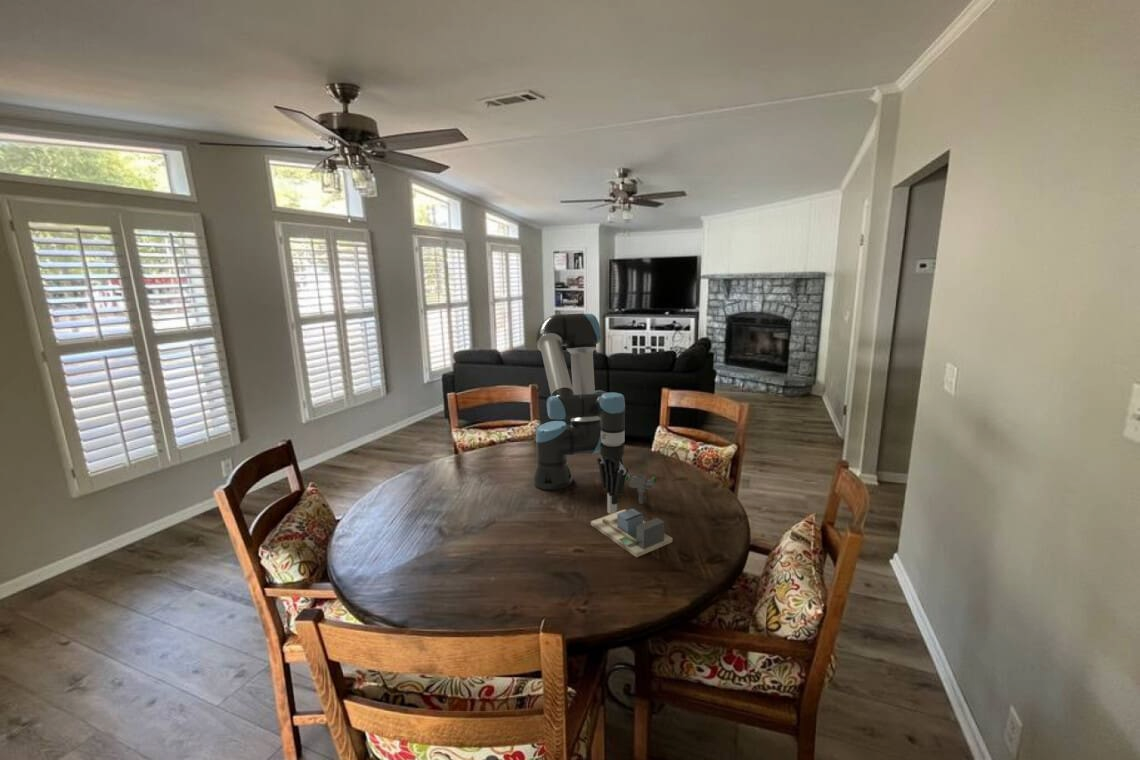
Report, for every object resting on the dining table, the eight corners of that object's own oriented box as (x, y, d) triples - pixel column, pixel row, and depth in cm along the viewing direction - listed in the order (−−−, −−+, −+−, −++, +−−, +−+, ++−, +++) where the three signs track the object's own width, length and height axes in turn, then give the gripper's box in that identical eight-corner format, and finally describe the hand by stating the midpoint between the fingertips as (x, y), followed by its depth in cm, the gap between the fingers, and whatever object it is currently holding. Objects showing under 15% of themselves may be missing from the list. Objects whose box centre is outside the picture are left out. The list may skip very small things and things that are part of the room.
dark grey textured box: (636, 544, 136) (636, 525, 135) (656, 536, 140) (657, 517, 139) (643, 549, 134) (643, 530, 132) (663, 540, 138) (664, 521, 137)
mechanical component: (655, 506, 161) (656, 479, 159) (625, 503, 163) (625, 477, 161) (655, 502, 164) (656, 475, 162) (626, 500, 166) (626, 473, 164)
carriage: (615, 529, 144) (615, 513, 143) (633, 522, 148) (633, 506, 147) (626, 536, 140) (626, 520, 139) (644, 529, 144) (644, 513, 143)
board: (590, 524, 150) (590, 518, 149) (624, 512, 157) (624, 506, 157) (636, 557, 132) (636, 550, 131) (672, 541, 139) (672, 535, 139)
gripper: (590, 439, 150) (590, 507, 155) (616, 451, 139) (615, 523, 144) (608, 434, 154) (608, 500, 159) (635, 446, 143) (634, 516, 148)
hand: (612, 511), depth 151 cm, fingers closed
